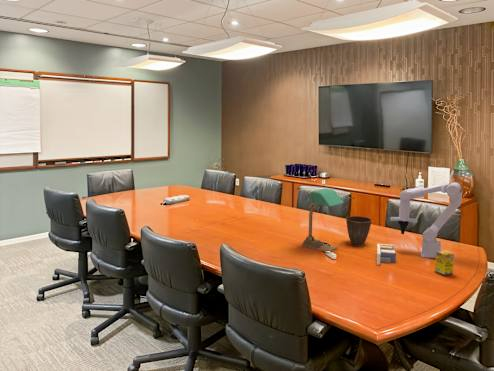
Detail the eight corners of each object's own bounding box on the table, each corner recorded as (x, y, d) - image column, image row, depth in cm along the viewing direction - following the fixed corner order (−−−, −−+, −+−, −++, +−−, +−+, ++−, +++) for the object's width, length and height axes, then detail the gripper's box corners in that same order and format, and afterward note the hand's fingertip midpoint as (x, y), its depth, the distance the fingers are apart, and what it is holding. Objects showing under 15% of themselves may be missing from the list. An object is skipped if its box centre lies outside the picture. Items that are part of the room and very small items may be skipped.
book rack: (393, 255, 242) (393, 245, 241) (394, 266, 224) (395, 255, 223) (376, 253, 244) (377, 243, 243) (376, 264, 226) (377, 253, 225)
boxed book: (394, 260, 233) (395, 250, 233) (395, 262, 230) (396, 252, 229) (379, 259, 235) (380, 249, 235) (380, 261, 232) (380, 251, 231)
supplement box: (444, 276, 210) (445, 254, 208) (434, 272, 216) (436, 251, 214) (452, 274, 212) (454, 253, 211) (443, 270, 218) (444, 249, 216)
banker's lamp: (313, 241, 267) (315, 186, 262) (342, 249, 253) (345, 190, 247) (298, 247, 256) (299, 189, 250) (327, 255, 242) (329, 194, 236)
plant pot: (374, 244, 262) (375, 218, 260) (363, 249, 251) (364, 223, 249) (352, 239, 272) (353, 215, 270) (340, 244, 261) (341, 219, 259)
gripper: (391, 211, 243) (389, 234, 245) (418, 213, 239) (416, 236, 242) (390, 208, 250) (389, 231, 252) (417, 210, 246) (415, 233, 248)
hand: (402, 233), depth 247 cm, fingers closed
